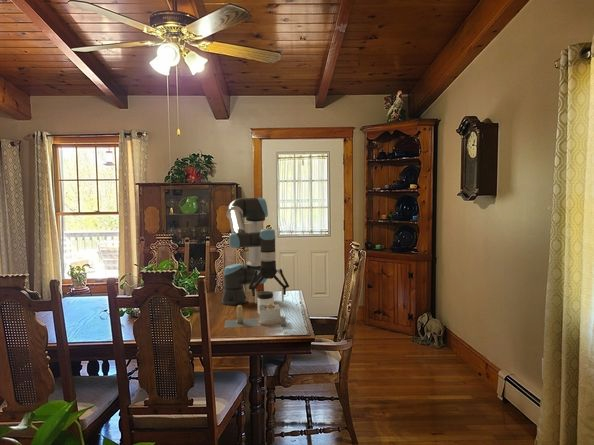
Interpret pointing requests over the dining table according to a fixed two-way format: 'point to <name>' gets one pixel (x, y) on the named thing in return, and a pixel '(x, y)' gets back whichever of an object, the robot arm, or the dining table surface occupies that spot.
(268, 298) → the jar
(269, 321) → the collar
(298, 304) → the dining table surface
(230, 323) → the post board
